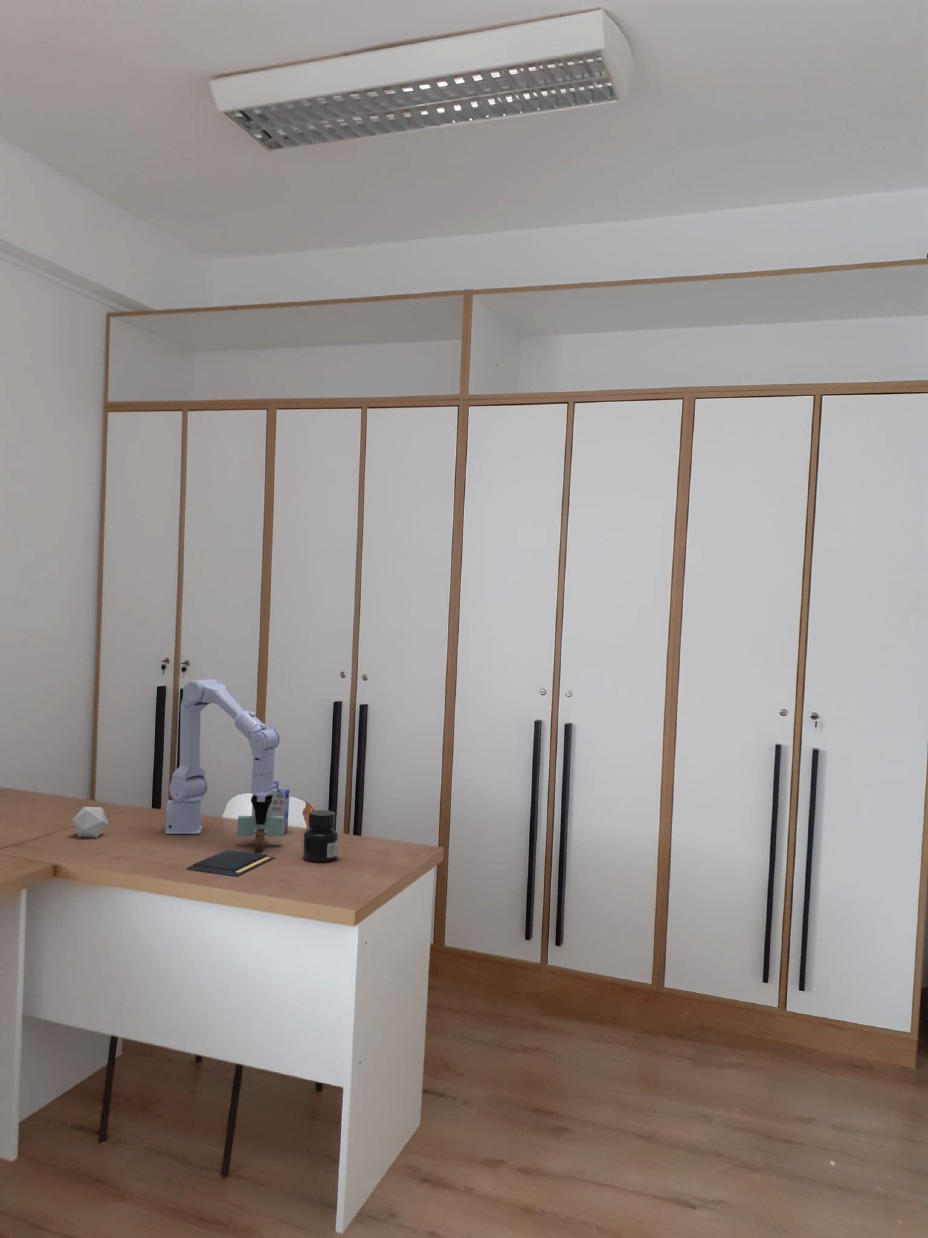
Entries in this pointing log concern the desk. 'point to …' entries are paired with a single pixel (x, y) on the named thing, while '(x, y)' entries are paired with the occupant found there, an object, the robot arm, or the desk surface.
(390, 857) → the desk surface
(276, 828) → the teal curved block
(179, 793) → the robot arm
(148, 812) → the desk surface
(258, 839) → the rail
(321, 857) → the ink bottle
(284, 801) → the ink cartridge box
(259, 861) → the wallet
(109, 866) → the desk surface
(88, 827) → the die
